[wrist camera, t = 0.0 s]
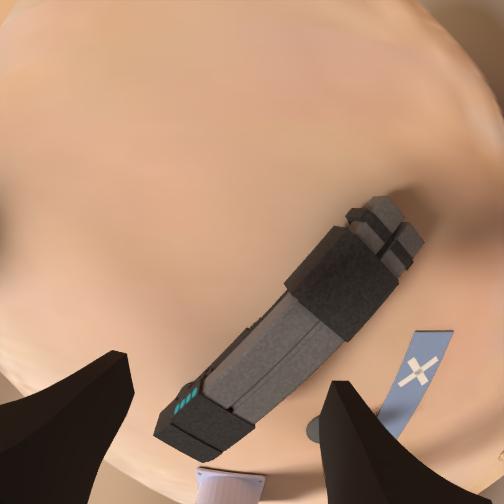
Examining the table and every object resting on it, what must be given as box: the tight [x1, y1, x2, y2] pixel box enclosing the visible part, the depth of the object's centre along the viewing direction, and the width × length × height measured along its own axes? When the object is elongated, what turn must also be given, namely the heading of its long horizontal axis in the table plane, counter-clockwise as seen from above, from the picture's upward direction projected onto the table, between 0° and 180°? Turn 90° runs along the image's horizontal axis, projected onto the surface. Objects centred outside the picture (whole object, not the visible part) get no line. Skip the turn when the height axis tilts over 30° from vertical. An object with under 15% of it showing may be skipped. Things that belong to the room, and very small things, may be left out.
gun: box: [153, 196, 425, 463], centre depth 18 cm, size 4×20×10 cm, turn 139°
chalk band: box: [377, 331, 453, 439], centre depth 21 cm, size 16×4×1 cm, turn 175°
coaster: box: [306, 415, 320, 443], centre depth 22 cm, size 5×5×1 cm
